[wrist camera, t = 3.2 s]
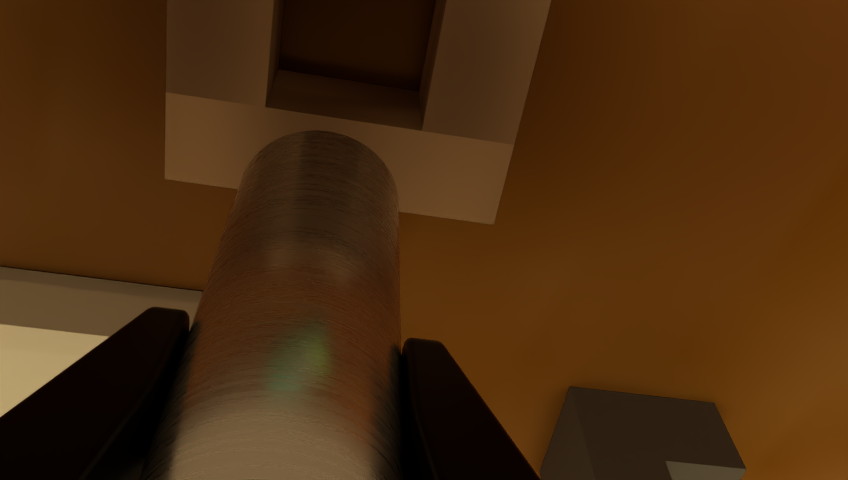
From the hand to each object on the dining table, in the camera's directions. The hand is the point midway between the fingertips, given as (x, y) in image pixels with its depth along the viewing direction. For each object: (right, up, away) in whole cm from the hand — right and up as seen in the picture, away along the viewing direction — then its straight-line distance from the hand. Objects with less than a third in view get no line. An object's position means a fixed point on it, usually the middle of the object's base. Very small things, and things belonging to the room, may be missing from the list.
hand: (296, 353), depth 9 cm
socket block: (0, +7, +10) cm, 13 cm away
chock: (+8, -5, +18) cm, 21 cm away
